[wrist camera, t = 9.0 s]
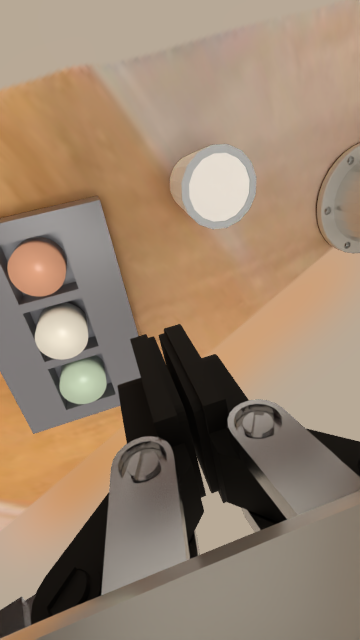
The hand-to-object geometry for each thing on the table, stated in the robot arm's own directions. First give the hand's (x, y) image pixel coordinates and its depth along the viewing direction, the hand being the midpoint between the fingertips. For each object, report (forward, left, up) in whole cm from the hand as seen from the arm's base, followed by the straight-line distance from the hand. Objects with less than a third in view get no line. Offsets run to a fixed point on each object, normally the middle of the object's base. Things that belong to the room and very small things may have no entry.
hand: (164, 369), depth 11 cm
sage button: (+7, +15, -26) cm, 31 cm away
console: (+7, +8, -27) cm, 29 cm away
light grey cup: (-10, -2, -27) cm, 29 cm away
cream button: (+7, +8, -26) cm, 28 cm away
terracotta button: (+7, +2, -26) cm, 27 cm away
